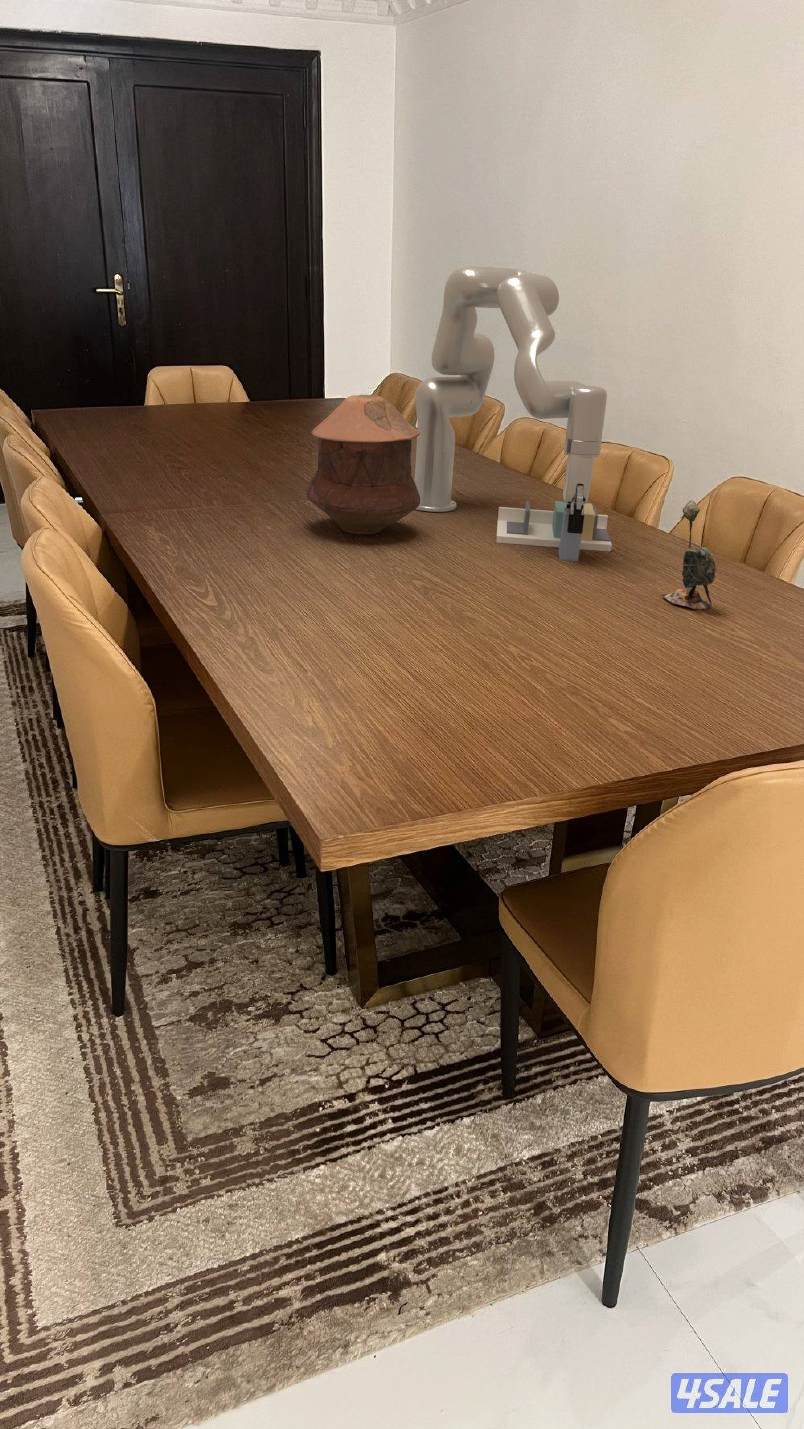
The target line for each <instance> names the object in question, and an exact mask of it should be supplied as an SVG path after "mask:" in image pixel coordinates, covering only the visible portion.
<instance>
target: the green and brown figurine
mask: <svg viewBox="0 0 804 1429" xmlns="http://www.w3.org/2000/svg"><path fill="white" fill-rule="evenodd" d="M700 510H701V509H700V507H699V506H698V504H697V503H696V502H695V501H694V500H689V501H688V502H687V503H686V505H685V506H684V507H683V508H682V513H683V514H682V515H681V517H680V519H681V520H683V519H684V518H686V520H687V521H689V525H688V526H689V529H688V530H689V543H688V549H686V550H684V551H685V552H684V556H683V562H682V572H681V575H682V583H683V588H679V589H676V590H675V591H673V592H669V593H665V594H663V593H662V597H663V598H664V599H665V600H667V601H669V603H670V604H672V605H674V604H675V605H678V606H682V607H686V608H689V609H693V610H697V611H698V610H699V611H700V610H704V609H709V608H711V607H712V605H713V603H714V602H713V599H712V598H711V596H710V591H709V587H708V585H711V584H713V582H714V581H715V579H716V576H717V575H716V571H717V569H716V561H715V559H714V556H713V555H712V553H711V551H710V550H709V549H708V548H707V547H703V546H694V547H691V545H692V529H693V522H695V521H696V518H697V516H698V515H699V512H700ZM697 586H698V587H699V586H703V589H704V592H705V594H706V598H707V600H708V601H709V602H708V601H707V600H706V599H704V598H702V597H701V594H700V593H699V591H698V590H696V589H697Z"/></svg>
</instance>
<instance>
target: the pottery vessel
mask: <svg viewBox="0 0 804 1429" xmlns="http://www.w3.org/2000/svg"><path fill="white" fill-rule="evenodd" d="M310 434H311V435H312V436H313V437H315V438H318V439H317V445H318V446H317V448H318V449H317V451H318V452H317V453H318V454H317V470H316V472H315V473H314V474H313V476H312V478H311V479H310V481H309V483H308V485H307V487H306V491H305V494H306V497H307V499H308V500H309V501H310V502H311V503H312V504H313V505H314V506H316V507H318V509H320V510H321V511H322V512H324V513H325V514H326V515H327V516H328V517H329V518H331V519H332V520H334V521H335V523H336V524H338V526H340V529H341V530H342V532H345V533H348V534H349V533H350V534H354V535H374V534H378V533H380V532H382V531H383V529H384V528H386V527H388V526H391V525H392V524H394V523H397V522H398V521H400V520H401V519H403V518H404V517H406V516H408V515H409V514H411V513H412V512H413V511H414V510H417V509H416V508H417V507H418V506H419V504H420V496H419V493H418V490H417V487H416V484H415V479H414V478H413V476H412V459H411V458H412V457H411V456H412V454H411V453H412V441H413V439H415V438H417V436H419V435H420V431H419V430H417V428H416V427H415V426H413V425H412V424H410V422H409V421H408V420H407V419H406V418H405V417H404V416H403V414H401V412H400V411H399V409H397V408H396V407H395V406H394V405H393V404H392V403H391V402H389V400H387V399H385V398H384V397H383V396H380V395H377V394H356V395H355V394H354V395H350V396H346V398H344V400H342V402H341V403H340V404H339V405H338V406H337V407H336V408H335V409H334V410H333V411H332V412H331V413H330V414H329V415H328V416H327V417H326V418H325V419H323V421H321V422H320V423H319V424H318V425H317V426H316V427H314V428H313V430H311V432H310Z"/></svg>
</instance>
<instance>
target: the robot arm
mask: <svg viewBox="0 0 804 1429" xmlns="http://www.w3.org/2000/svg"><path fill="white" fill-rule="evenodd" d="M559 301H560V292H559V289H558V287H557V285H556V283H555V281H553V280H552V279H551V278H550V277H548V276H546V275H542V274H537V273H532V272H528V271H525V270H521V269H516V268H505V267H492V266H491V267H490V266H463V267H459V268H457V269H455V270H454V271H452V272H451V274H450V275H449V276H448V277H447V281H446V282H445V286H444V292H443V301H442V302H443V305H442V312H441V316H440V318H439V319H440V321H439V324H438V328H437V331H436V335H435V340H434V345H433V349H432V352H431V366H432V368H433V369H434V371H435V372H436V373H438V374H441V375H445V376H438V377H437V376H435V377H430V378H427V379H425V380H423V381H421V383H419V385H418V386H417V388H416V391H415V396H414V397H415V398H414V400H415V409H416V410H415V411H416V418H417V423H416V425H417V428H416V429H417V430H419V431H420V435H419V436H417V437H416V449H415V450H416V451H415V452H416V453H415V455H416V456H415V471H414V482H415V484H416V487H417V490H418V493H419V496H420V504H419V506H418V507H417V508H416V509H415V510H417V511H423V512H432V513H433V512H434V513H443V512H445V513H446V512H451V511H454V510H456V509H457V502H456V501H455V500H453V499H452V488H453V474H454V473H453V472H454V464H455V463H454V460H455V451H456V450H455V448H456V435H455V433H456V432H455V430H454V427H453V426H452V424H451V420H450V419H451V418H459V417H460V418H462V417H471V416H474V415H475V414H476V413H478V412H479V411H480V408H481V406H482V405H483V402H484V399H485V396H486V391H487V388H488V384H489V381H490V378H491V375H492V370H493V367H494V363H495V348H494V344H493V342H492V340H491V339H490V338H489V337H488V336H487V335H485V334H483V333H480V332H475V331H476V328H477V324H478V314H477V309H476V308H483V309H500V312H501V314H502V316H503V318H504V320H505V322H506V323H505V324H506V325H507V327H508V330H509V332H510V335H511V336H512V337H511V338H512V339H513V341H514V343H515V345H516V348H517V354H516V358H515V361H514V367H513V368H514V371H513V377H514V378H513V379H514V384H515V388H516V391H517V393H518V396H519V398H520V400H521V403H522V405H523V406H524V408H525V409H526V411H527V413H528V414H529V415H530V416H532V417H533V418H535V419H537V420H538V419H539V420H550V419H567V421H566V422H567V424H566V430H565V440H564V449H563V450H564V451H563V454H564V455H566V456H567V462H566V467H565V468H566V469H565V477H564V483H563V484H564V485H563V492H562V497H563V502H565V503H567V506H566V508H570V509H571V514H569V519H568V528H567V532H568V533H577V534H581V533H582V531H583V523H584V504H586V503H588V501H589V496H590V490H591V484H592V483H591V482H592V476H593V467H594V459H595V458H599V457H600V456H601V448H602V439H603V430H604V422H605V414H606V407H607V406H606V405H607V397H608V396H607V395H608V394H607V391H606V390H605V389H604V388H603V387H601V386H594V385H586V384H583V383H581V382H579V381H574V380H564V381H563V380H557V381H555V380H553V381H545V380H544V377H543V376H542V372H541V371H540V368H539V365H538V360H537V356H539V355H541V354H542V353H543V352H544V351H546V350H548V348H549V347H551V345H552V344H553V342H554V340H555V337H556V332H555V329H554V327H553V326H552V323H551V321H550V319H549V316H551V315H553V314H554V313H555V311H556V310H557V309H558V305H559V303H560V302H559Z"/></svg>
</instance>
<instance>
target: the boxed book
mask: <svg viewBox="0 0 804 1429" xmlns="http://www.w3.org/2000/svg"><path fill="white" fill-rule="evenodd" d="M569 514H571V509H570V508H564V513H563V521H562V529H561V537H560V545H559V547H558V556H559V560H561V561H572V562H578V561H579V558H580V557H579V556H580V550H581V549H580V544H581V536H582V533H581V534H577V533H568V532H567V528H568V519H569Z"/></svg>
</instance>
